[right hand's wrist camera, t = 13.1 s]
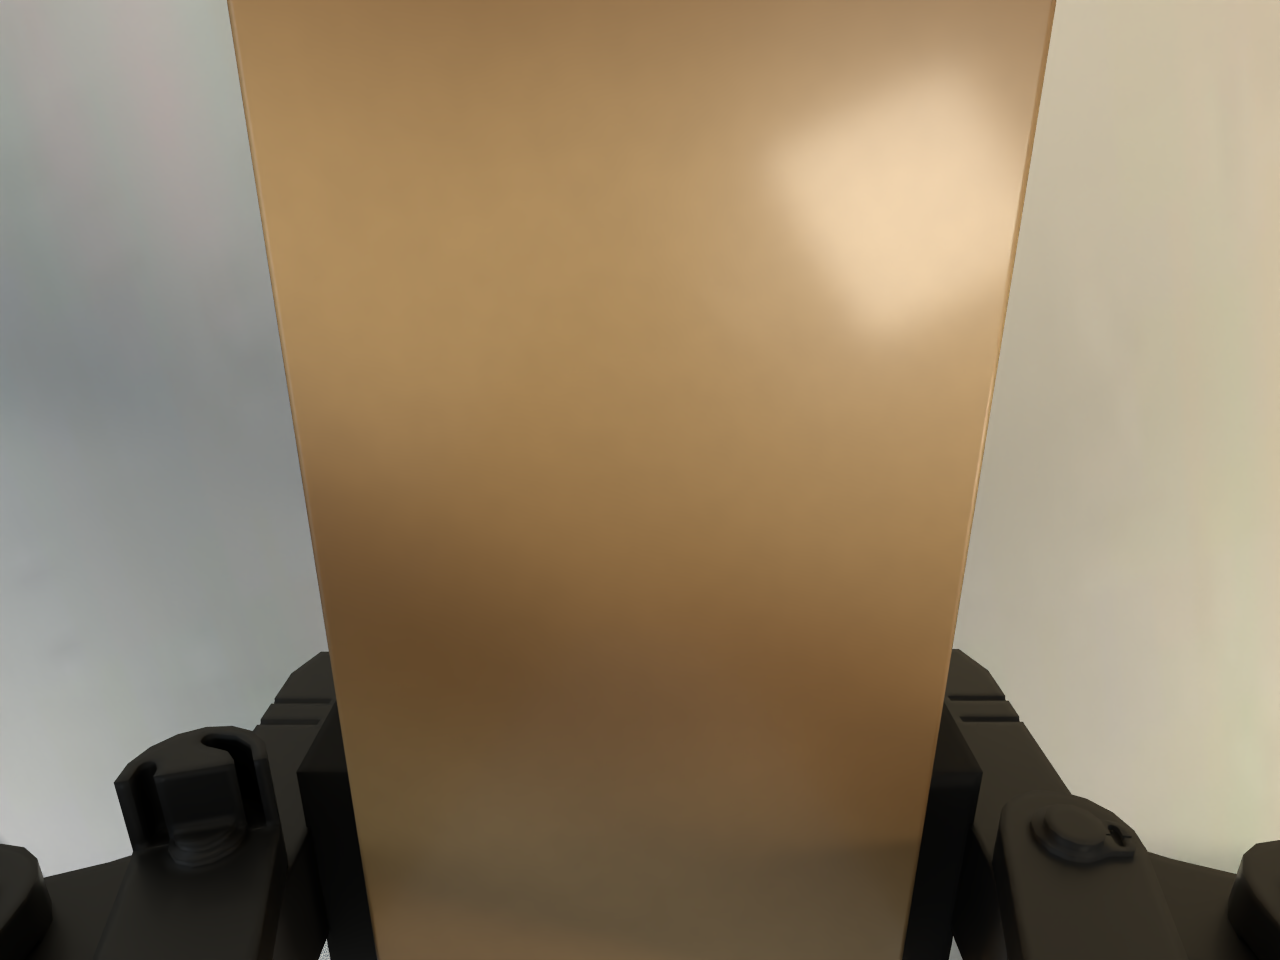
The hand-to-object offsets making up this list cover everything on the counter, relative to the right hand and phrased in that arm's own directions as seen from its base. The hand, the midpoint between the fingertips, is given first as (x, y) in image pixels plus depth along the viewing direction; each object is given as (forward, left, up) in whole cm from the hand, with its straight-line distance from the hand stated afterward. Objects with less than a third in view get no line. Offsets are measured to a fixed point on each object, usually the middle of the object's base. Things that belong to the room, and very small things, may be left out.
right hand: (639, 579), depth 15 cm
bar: (+16, -29, -1) cm, 33 cm away
